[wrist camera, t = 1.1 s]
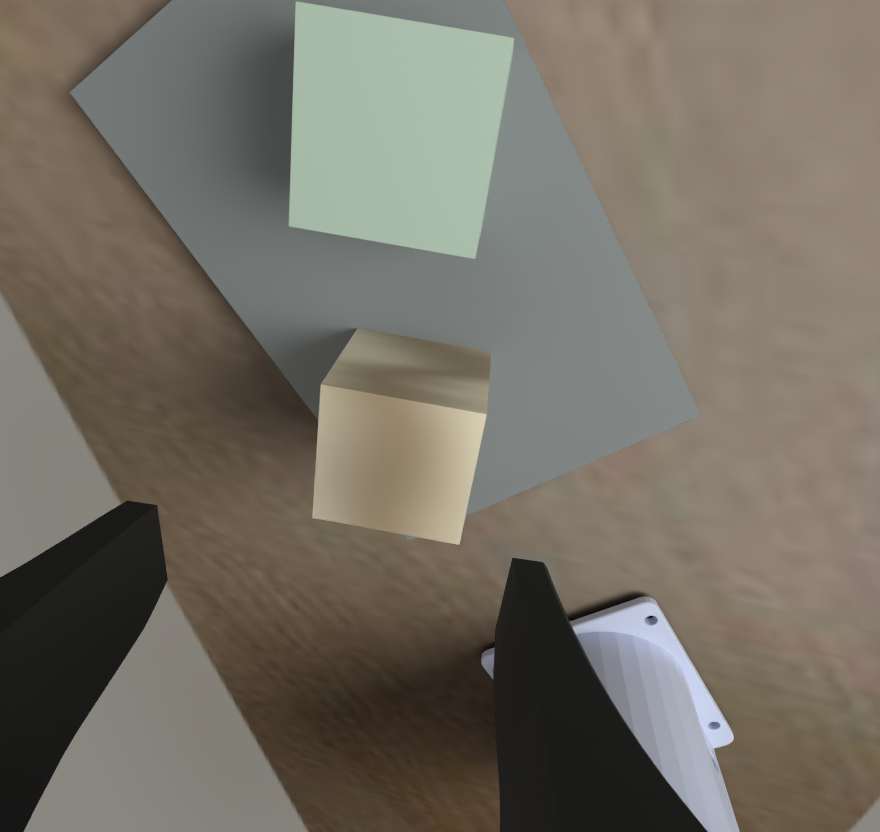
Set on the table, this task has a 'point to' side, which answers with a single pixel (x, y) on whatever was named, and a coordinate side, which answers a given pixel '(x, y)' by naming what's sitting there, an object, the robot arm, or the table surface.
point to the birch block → (400, 435)
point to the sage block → (394, 128)
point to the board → (392, 266)
